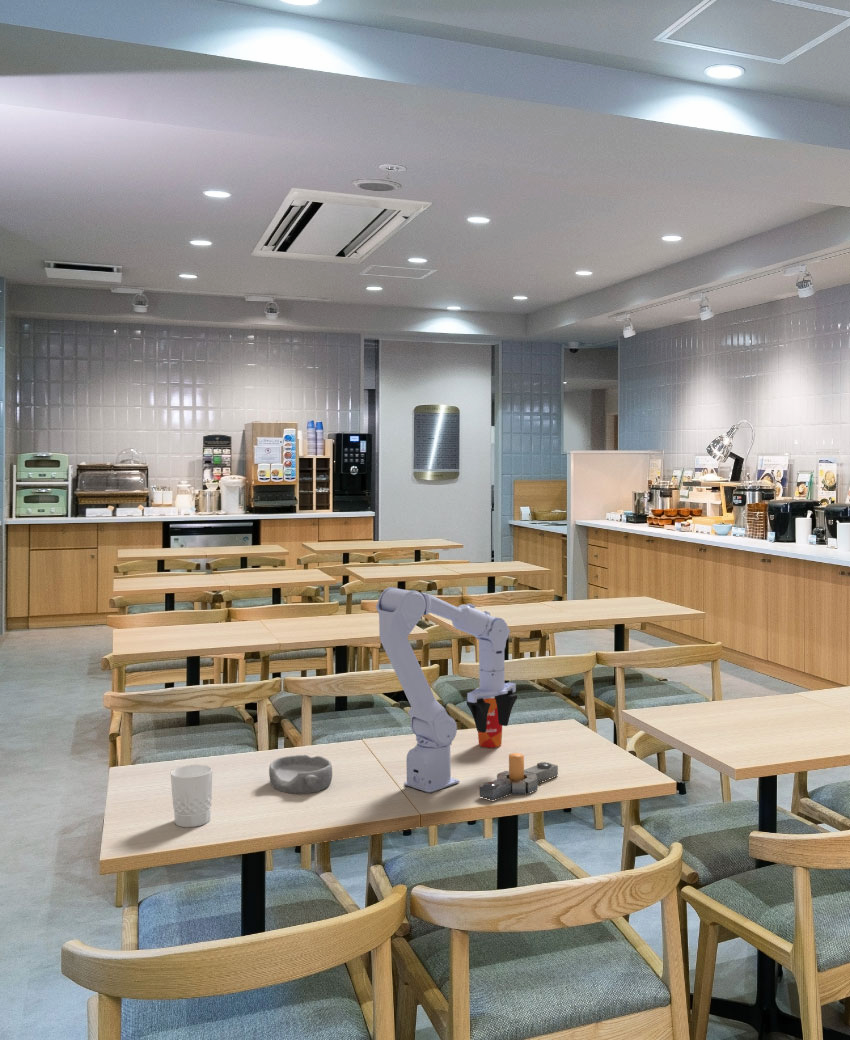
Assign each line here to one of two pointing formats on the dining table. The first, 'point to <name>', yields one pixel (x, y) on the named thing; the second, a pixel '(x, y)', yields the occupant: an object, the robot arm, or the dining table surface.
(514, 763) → the orange pin
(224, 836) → the dining table surface
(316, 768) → the dish
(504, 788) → the left chain end
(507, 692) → the robot arm
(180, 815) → the white cup
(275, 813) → the dining table surface
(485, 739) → the paper cup
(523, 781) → the right chain end
